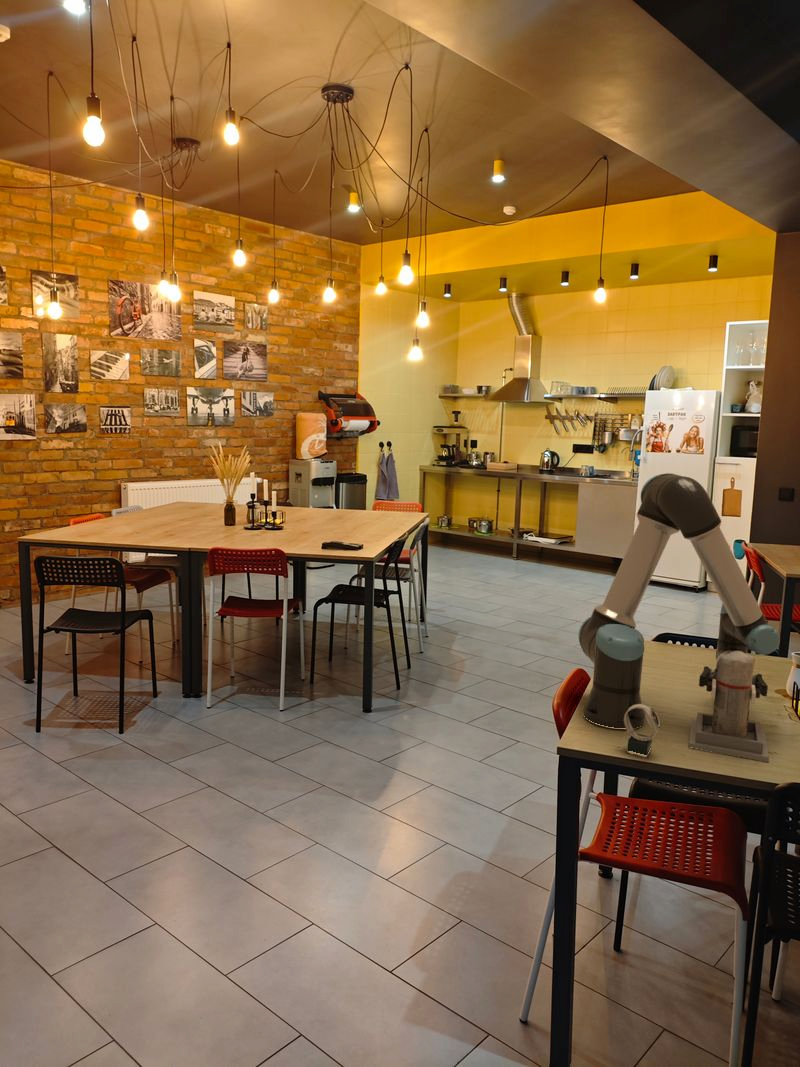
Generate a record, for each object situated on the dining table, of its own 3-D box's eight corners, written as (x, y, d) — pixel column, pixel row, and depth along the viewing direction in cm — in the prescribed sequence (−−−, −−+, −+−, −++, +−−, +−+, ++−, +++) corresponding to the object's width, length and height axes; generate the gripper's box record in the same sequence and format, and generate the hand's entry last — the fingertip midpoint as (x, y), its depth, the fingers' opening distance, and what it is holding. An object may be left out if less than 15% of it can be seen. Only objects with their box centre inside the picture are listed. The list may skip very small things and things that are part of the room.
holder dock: (688, 748, 184) (690, 733, 183) (691, 723, 200) (692, 709, 199) (768, 762, 178) (770, 746, 177) (764, 735, 193) (765, 721, 193)
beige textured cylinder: (742, 743, 183) (752, 661, 180) (706, 733, 188) (715, 653, 184) (751, 732, 189) (761, 653, 186) (716, 723, 194) (725, 645, 191)
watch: (655, 760, 177) (659, 713, 175) (619, 751, 180) (623, 706, 179) (659, 751, 182) (664, 705, 180) (624, 743, 185) (628, 698, 184)
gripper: (774, 688, 200) (780, 718, 179) (688, 676, 208) (684, 703, 187) (777, 660, 199) (784, 687, 178) (690, 648, 207) (687, 673, 186)
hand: (733, 695), depth 182 cm, fingers closed on beige textured cylinder, 8 cm apart
